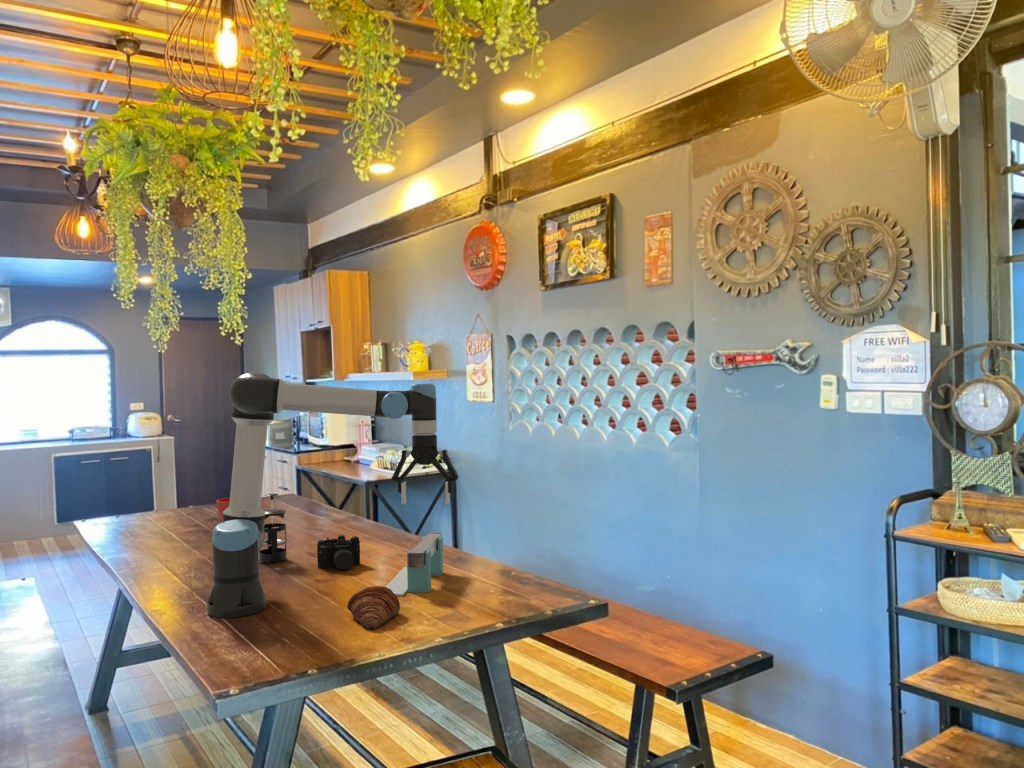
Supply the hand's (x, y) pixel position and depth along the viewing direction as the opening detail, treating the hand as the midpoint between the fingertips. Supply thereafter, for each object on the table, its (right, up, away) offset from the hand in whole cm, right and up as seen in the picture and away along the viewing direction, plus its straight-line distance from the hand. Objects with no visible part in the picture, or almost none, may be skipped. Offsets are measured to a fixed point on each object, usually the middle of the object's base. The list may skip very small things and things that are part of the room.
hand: (425, 503), depth 230 cm
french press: (-56, -24, +29) cm, 68 cm away
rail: (0, -16, 0) cm, 16 cm away
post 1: (-1, -24, -9) cm, 26 cm away
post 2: (+1, -24, +9) cm, 26 cm away
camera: (-31, -24, +18) cm, 43 cm away
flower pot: (-97, -24, +99) cm, 141 cm away
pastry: (-10, -25, -32) cm, 42 cm away
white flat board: (-7, -24, +1) cm, 25 cm away
